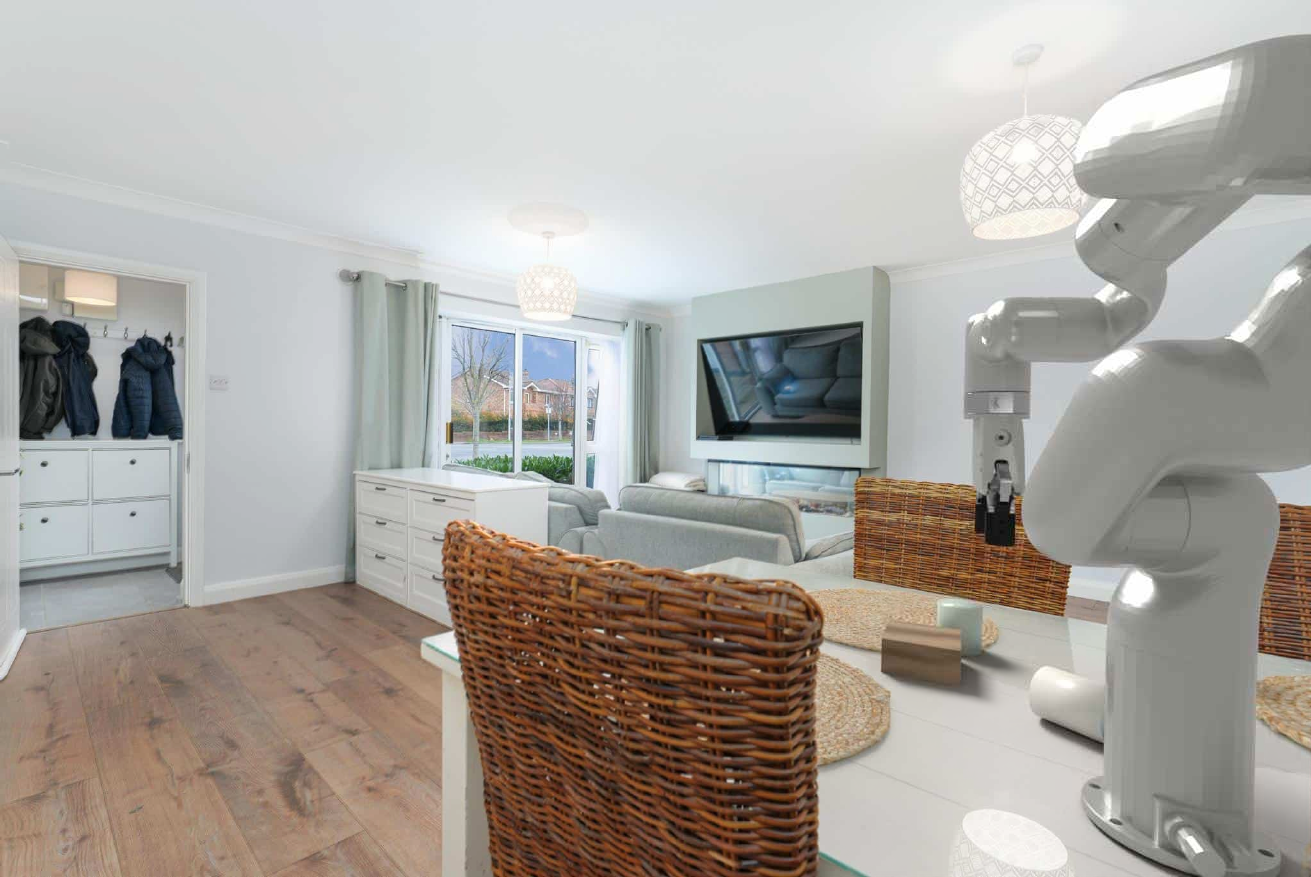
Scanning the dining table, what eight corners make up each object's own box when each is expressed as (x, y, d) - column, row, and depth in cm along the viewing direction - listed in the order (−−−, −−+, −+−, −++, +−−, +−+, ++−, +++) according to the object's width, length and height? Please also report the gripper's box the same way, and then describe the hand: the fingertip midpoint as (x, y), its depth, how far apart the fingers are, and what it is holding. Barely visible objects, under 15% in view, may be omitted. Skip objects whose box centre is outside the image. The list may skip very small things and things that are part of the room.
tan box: (960, 688, 80) (961, 651, 80) (881, 673, 85) (881, 638, 85) (960, 663, 89) (960, 630, 89) (888, 651, 94) (888, 619, 94)
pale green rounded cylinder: (984, 658, 91) (985, 612, 91) (937, 652, 93) (938, 607, 93) (978, 644, 97) (979, 601, 97) (935, 639, 99) (935, 597, 99)
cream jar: (1058, 715, 73) (1144, 750, 65) (1026, 719, 70) (1111, 756, 62) (1062, 664, 73) (1148, 692, 65) (1030, 666, 71) (1116, 695, 63)
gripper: (1045, 404, 69) (1042, 553, 69) (1016, 410, 85) (1013, 531, 85) (972, 404, 72) (968, 547, 72) (957, 410, 88) (954, 527, 88)
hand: (993, 539), depth 78 cm, fingers open, 9 cm apart
